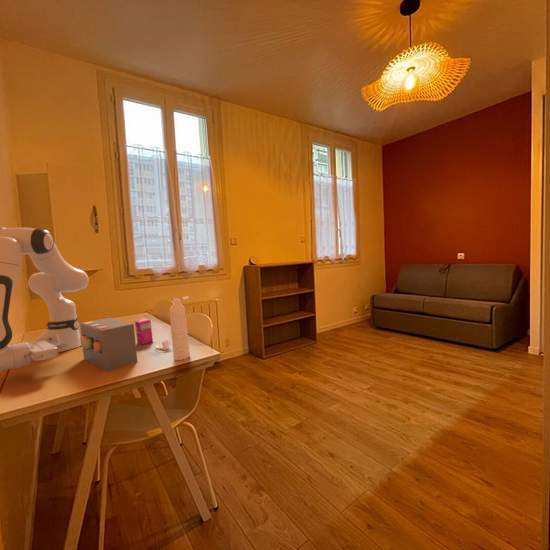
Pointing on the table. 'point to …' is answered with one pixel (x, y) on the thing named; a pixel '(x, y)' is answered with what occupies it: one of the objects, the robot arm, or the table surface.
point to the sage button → (87, 344)
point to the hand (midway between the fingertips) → (65, 344)
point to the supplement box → (143, 332)
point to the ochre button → (83, 338)
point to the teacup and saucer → (164, 346)
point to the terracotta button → (97, 346)
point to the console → (110, 343)
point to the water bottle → (179, 330)
